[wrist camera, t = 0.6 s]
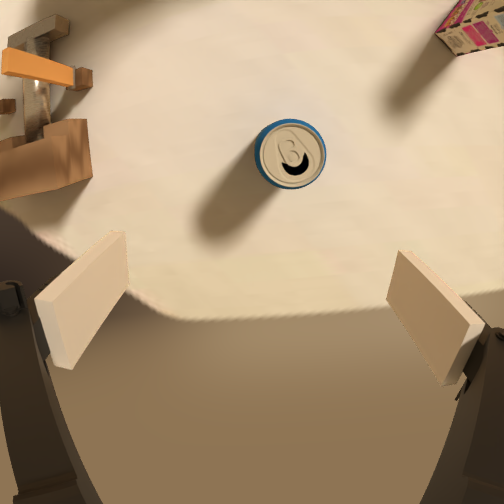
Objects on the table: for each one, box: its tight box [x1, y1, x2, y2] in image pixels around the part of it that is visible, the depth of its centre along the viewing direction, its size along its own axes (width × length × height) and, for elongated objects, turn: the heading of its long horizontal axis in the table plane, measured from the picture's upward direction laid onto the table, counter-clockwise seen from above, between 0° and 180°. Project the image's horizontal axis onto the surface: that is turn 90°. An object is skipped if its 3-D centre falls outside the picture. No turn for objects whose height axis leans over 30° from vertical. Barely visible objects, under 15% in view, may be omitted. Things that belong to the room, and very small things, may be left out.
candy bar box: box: [435, 0, 504, 56], centre depth 22 cm, size 11×5×16 cm, turn 144°
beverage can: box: [255, 119, 326, 189], centre depth 32 cm, size 6×6×12 cm
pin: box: [7, 14, 69, 144], centre depth 32 cm, size 18×9×4 cm, turn 4°
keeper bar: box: [1, 47, 75, 90], centre depth 24 cm, size 3×15×1 cm
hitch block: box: [0, 67, 93, 201], centre depth 32 cm, size 15×16×9 cm
